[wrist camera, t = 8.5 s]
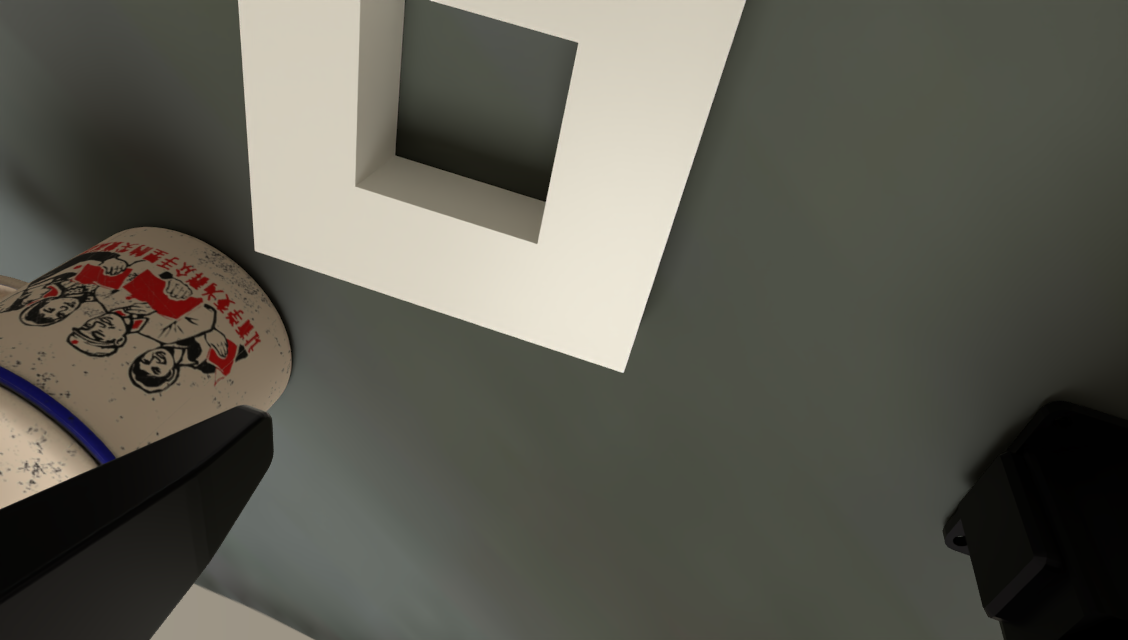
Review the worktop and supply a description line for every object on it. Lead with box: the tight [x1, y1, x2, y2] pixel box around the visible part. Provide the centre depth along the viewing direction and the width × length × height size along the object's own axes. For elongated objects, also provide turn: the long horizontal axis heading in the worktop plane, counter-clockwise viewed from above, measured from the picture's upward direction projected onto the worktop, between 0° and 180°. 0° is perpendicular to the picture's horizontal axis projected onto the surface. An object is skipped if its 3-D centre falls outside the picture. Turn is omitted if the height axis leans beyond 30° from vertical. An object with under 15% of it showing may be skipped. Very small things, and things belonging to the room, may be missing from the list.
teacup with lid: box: [0, 227, 292, 509], centre depth 24 cm, size 12×9×12 cm
